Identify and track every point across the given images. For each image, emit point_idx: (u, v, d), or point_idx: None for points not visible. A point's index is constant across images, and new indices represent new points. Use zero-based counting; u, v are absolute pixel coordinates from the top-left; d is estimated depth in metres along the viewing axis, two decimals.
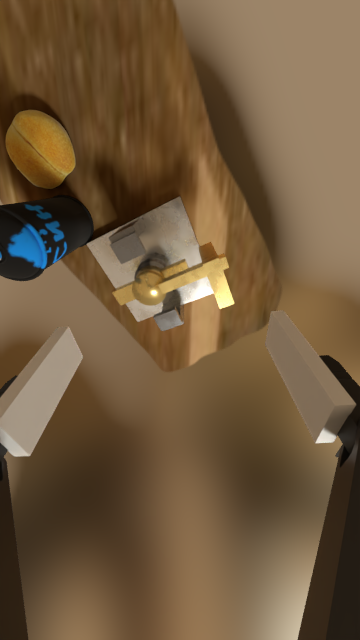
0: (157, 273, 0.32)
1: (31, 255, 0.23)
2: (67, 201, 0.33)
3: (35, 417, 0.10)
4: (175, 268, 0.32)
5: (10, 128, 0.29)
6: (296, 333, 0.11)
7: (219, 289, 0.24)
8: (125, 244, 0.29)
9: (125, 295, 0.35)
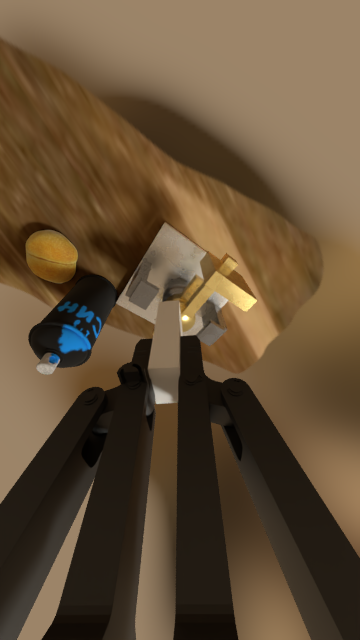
0: None
1: (76, 346, 0.28)
2: (85, 281, 0.38)
3: None
4: (191, 287, 0.33)
5: (27, 255, 0.36)
6: (175, 317, 0.13)
7: (234, 295, 0.23)
8: (139, 293, 0.32)
9: None
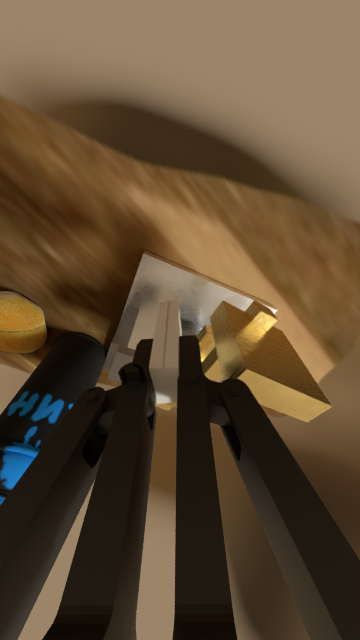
0: None
1: None
2: (59, 345, 0.29)
3: None
4: (200, 346, 0.21)
5: None
6: (174, 317, 0.13)
7: (285, 402, 0.12)
8: (120, 367, 0.21)
9: None
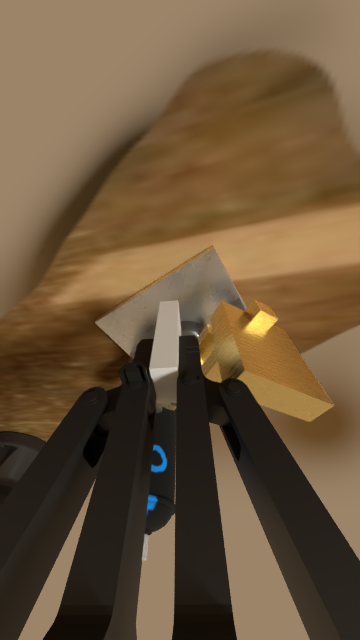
0: None
1: None
2: None
3: None
4: (202, 346, 0.21)
5: None
6: (174, 317, 0.13)
7: (286, 402, 0.12)
8: None
9: None
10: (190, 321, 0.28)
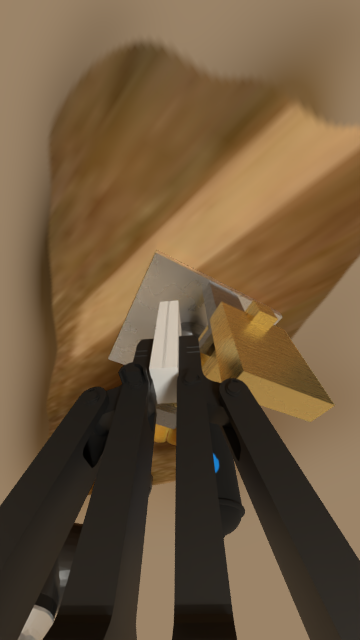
0: None
1: None
2: None
3: None
4: None
5: None
6: (174, 317, 0.13)
7: (286, 403, 0.12)
8: (162, 421, 0.26)
9: None
10: None
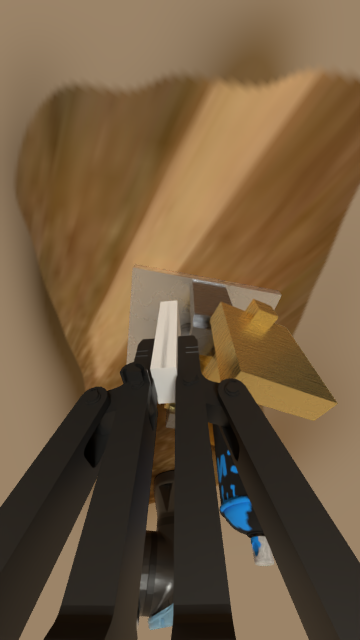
0: None
1: (241, 516, 0.24)
2: None
3: None
4: None
5: None
6: (173, 318, 0.13)
7: (287, 402, 0.11)
8: None
9: None
10: None
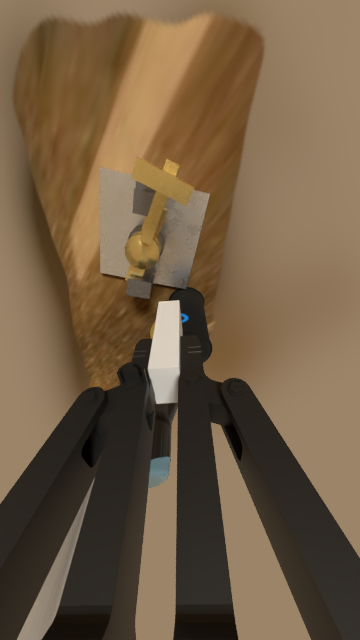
0: (137, 233, 0.32)
1: None
2: None
3: None
4: None
5: None
6: (175, 317, 0.13)
7: (167, 186, 0.21)
8: (138, 292, 0.37)
9: (135, 274, 0.36)
10: (138, 223, 0.38)
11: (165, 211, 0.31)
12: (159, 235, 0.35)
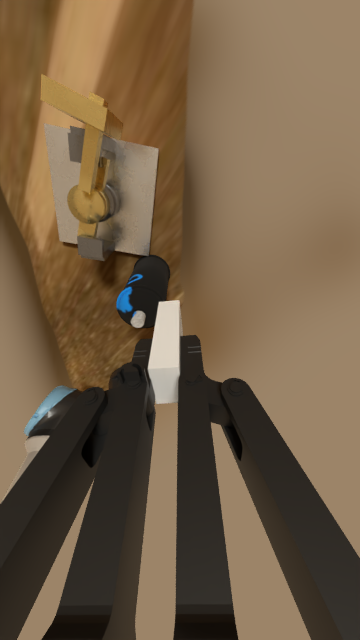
0: None
1: (125, 299, 0.33)
2: None
3: None
4: None
5: None
6: (175, 317, 0.13)
7: (79, 108, 0.21)
8: (90, 251, 0.36)
9: (86, 233, 0.36)
10: None
11: (105, 160, 0.30)
12: (107, 190, 0.34)
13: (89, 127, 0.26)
